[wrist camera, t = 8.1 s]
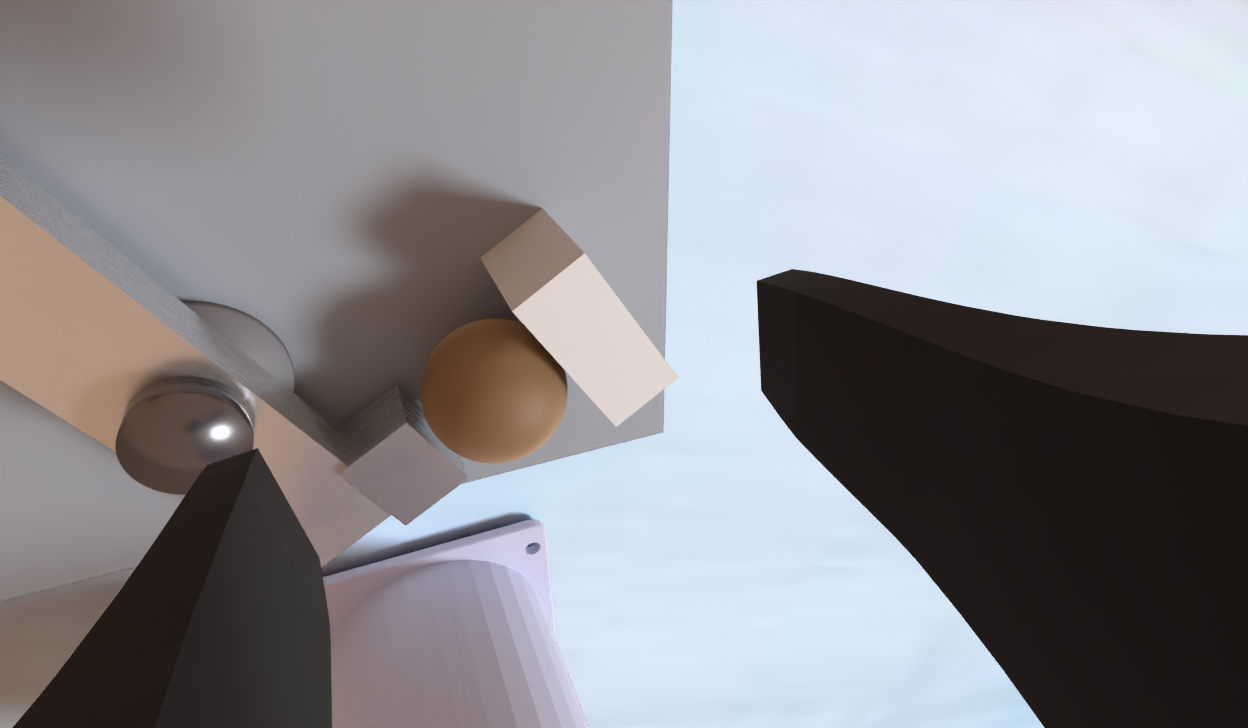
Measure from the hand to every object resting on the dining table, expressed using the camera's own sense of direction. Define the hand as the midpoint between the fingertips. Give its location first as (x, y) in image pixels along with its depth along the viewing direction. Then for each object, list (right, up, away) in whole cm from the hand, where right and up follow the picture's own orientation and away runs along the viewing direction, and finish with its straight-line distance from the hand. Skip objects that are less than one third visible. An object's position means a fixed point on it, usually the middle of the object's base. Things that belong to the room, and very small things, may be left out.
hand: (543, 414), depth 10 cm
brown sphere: (-3, +1, +9) cm, 10 cm away
